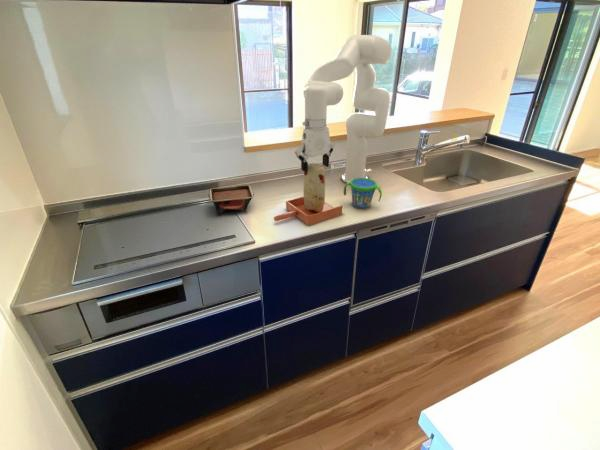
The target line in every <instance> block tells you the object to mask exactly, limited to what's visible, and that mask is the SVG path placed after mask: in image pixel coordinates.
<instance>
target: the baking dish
mask: <svg viewBox="0 0 600 450" xmlns="http://www.w3.org/2000/svg"><path fill="white" fill-rule="evenodd" d="M254 196H255V193H254V191H253V188H252V187H251V185H250V184H241V185H232V186H231V185H230V186H224V187H223V186H222V187H213V188H210V189H209V191H208V198H209V200H210V201H211V202H212V203H213V205H214V208H215V211H216V213H217V216H220V215H221V213H223V212H225V211H226V210H230V211H236V210H239V211H243V212H247V209H248V205H249V204H250V202H251V201H252V199H253V198H254Z"/></svg>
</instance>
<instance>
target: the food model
mask: <svg viewBox="0 0 600 450" xmlns="http://www.w3.org/2000/svg"><path fill="white" fill-rule="evenodd" d="M303 196H304V206H305V208H306V209H307V210H309V211H310V212H313V213H319V212H322V210H323V207H324V203H325V199H326V170H325V166H322V165H321V164H320V163H317V162H310V163H309V162H308V172H304V171H303Z"/></svg>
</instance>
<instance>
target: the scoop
mask: <svg viewBox="0 0 600 450" xmlns="http://www.w3.org/2000/svg"><path fill="white" fill-rule="evenodd" d="M285 209H286V210H287V211H288V212H285V213H282V214H278V215H275V216H274V217H273V221H274V222H279V221H282V220H286V219H289V218H292V217H297V219H300V220H301V221H302V222H303V223H305V224H306V225H307V226H312V225H315V224H318V223H320V222H324V221H326V220H329V219H333V218H336V217H339V216H341V215H343V204H341V205H338V206H335V207H332V206H331V205H330V204H327V203H326V202H324V207H323V210H322V212H319V213H313V212H310V211H309V210H307V209H306V208H305V206H304V195H303V196H299V197H294V198H292V199H288V200H286V201H285Z"/></svg>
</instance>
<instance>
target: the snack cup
mask: <svg viewBox="0 0 600 450" xmlns="http://www.w3.org/2000/svg"><path fill="white" fill-rule="evenodd" d="M348 185H349V186H350V191H351V204H352V206H353V207H354V208H358V209H367V208H369V207H371V205H372V201H373V198H374V194H375V192H376V190H377V191H378V193H379V199H378V202H380V201H381V199H382V195H383V191H382V189H381V187H380V185H378V184H377V182H376V181H375V180H374V179H371V178H368V179H367V178H357V179H353V180H352V181H350V182H348V183H346V184H345V185H344V187H343V195H344V196H346V195H347V186H348Z"/></svg>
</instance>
